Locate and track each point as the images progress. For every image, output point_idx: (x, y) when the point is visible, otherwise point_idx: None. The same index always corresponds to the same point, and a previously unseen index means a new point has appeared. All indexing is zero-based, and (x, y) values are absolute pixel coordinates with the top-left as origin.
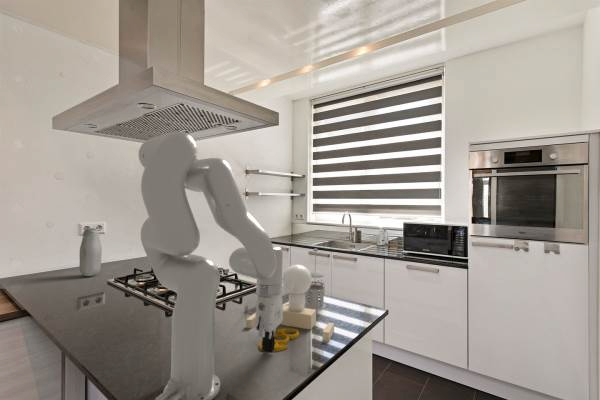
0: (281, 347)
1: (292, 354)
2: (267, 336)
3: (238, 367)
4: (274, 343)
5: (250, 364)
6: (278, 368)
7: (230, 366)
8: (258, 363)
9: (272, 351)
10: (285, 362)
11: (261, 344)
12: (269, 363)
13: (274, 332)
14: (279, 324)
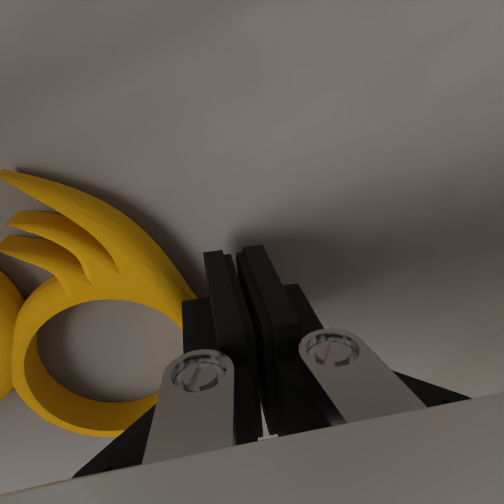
0: (99, 212)
1: (110, 33)
2: (411, 386)
3: (491, 342)
4: (36, 332)
5: (437, 301)
6: (438, 49)
7: (490, 387)
8: (408, 259)
9: (175, 269)
10: (312, 32)
11: (135, 409)
12: (381, 178)
13: (176, 392)
14: (163, 462)
